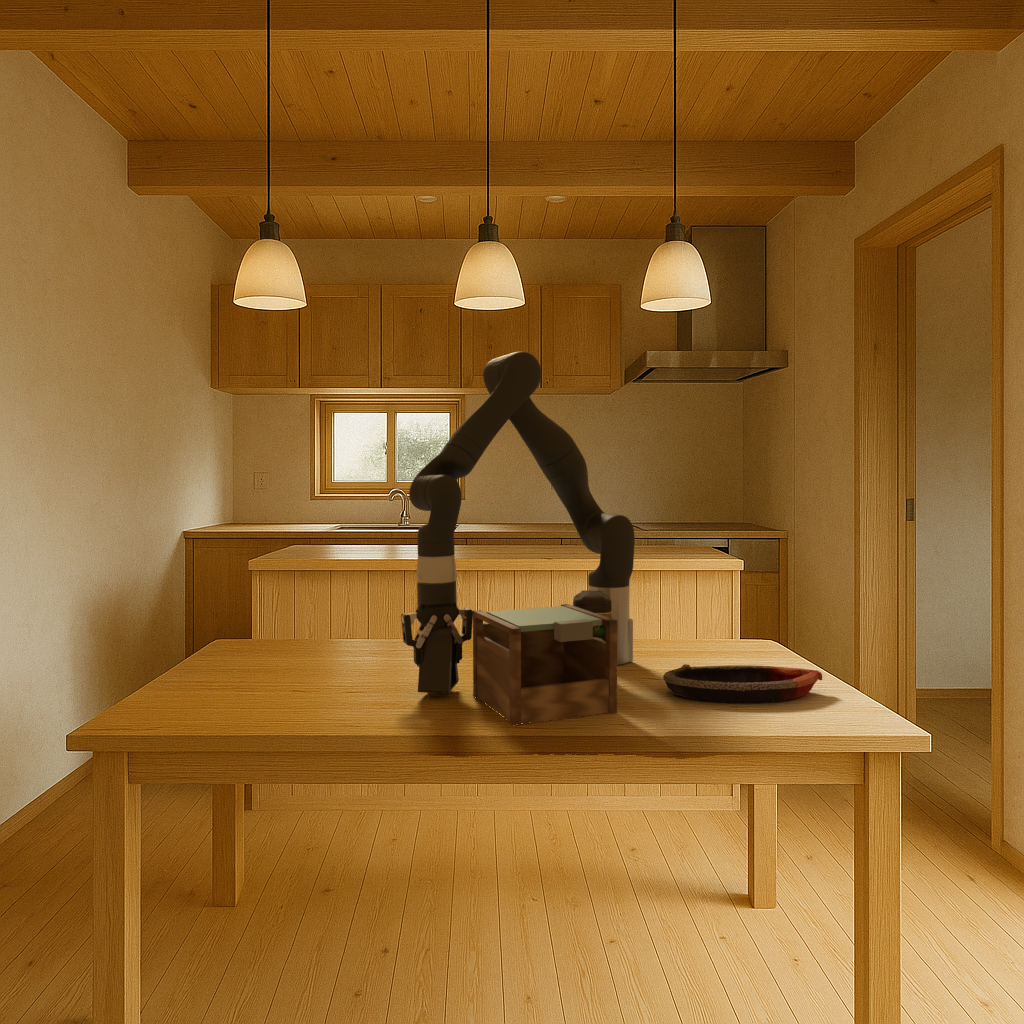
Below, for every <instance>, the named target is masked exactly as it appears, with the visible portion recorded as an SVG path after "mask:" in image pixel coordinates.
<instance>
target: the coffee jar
mask: <svg viewBox="0 0 1024 1024" xmlns="http://www.w3.org/2000/svg"><path fill="white" fill-rule="evenodd" d="M572 600H573V601H572V606H575V607H578V608H581V609H584V610H587V611H590V612H593V613H596V614H599V615H602V616H605V617H608V618H611V619H612V605H611V603H612V601H611V599H610V597H609V596H608V595H606V594H604V593H602V592H601V591H598V590H588V589H587V590H581V591H580V592H579V593H577V594H575V595H574V596H573V599H572ZM593 637H595V638H597V639H600V640H602V641H605V642H606V625H603V624H602V625H597V626H593Z"/></svg>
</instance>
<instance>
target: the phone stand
mask: <svg viewBox="0 0 1024 1024" xmlns="http://www.w3.org/2000/svg"><path fill="white" fill-rule="evenodd" d="M423 630H424V627H423V626H421V631H423ZM451 632H452V626H442V627H439V628H438V629H436V630H434V632H433V633H431V632H430V633H429V635H428V637H427V638H426V639H425V641H424V643H423V645H422V648H423V662H422V664H421V665H420V664H419V667H418V680H417V681H418V682H417V692H418V693H428V694H429V693H431V694H433V693H434V694H450V693H451V692H452V690H453V689H454V688H455V686H456V685H457V684H458V683H459V669H458V668H459V667H458V663H457V664H455V639H454V637H453V636H452V635H451Z"/></svg>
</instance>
